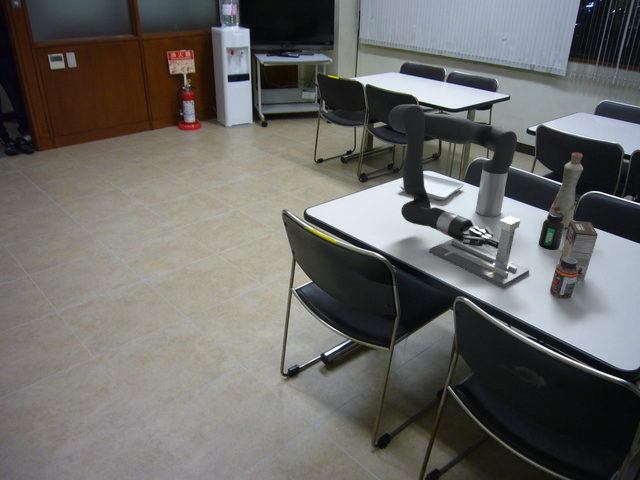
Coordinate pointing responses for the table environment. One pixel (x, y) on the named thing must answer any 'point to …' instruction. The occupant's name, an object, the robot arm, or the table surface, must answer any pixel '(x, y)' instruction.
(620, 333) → the table surface
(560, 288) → the supplement bottle
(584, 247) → the coffee box
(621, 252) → the table surface
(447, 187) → the salad plate
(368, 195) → the table surface
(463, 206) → the table surface
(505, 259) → the post
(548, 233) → the supplement bottle
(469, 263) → the slider rail base
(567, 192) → the bottle
